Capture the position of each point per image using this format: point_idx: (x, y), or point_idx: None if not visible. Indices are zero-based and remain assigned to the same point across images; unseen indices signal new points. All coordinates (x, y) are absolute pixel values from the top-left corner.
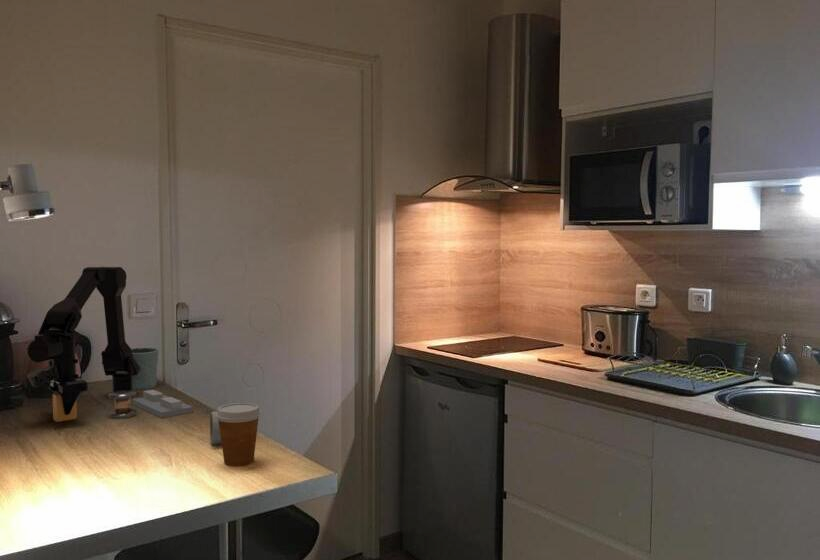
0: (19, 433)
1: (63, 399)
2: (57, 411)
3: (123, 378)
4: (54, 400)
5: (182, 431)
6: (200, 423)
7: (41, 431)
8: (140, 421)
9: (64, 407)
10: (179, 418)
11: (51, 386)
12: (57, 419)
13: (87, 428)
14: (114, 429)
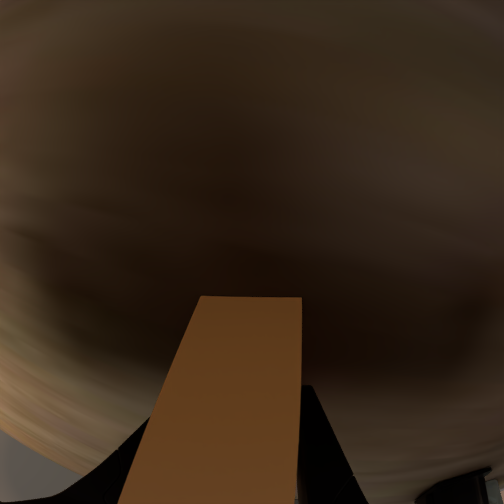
0: (24, 15)
1: (79, 480)
2: (175, 369)
3: None
4: (213, 477)
5: (4, 413)
6: (50, 451)
7: (4, 149)
8: (82, 440)
9: (144, 425)
10: (92, 467)
11: None
12: (196, 312)
13: (20, 338)
14: (10, 373)
